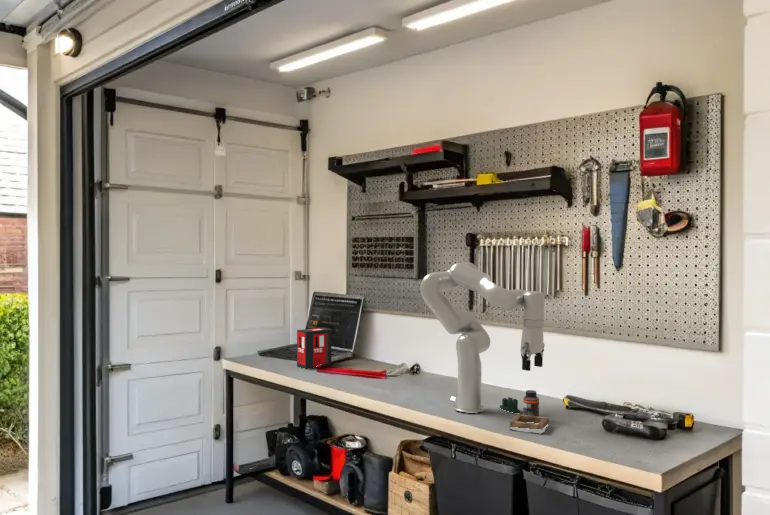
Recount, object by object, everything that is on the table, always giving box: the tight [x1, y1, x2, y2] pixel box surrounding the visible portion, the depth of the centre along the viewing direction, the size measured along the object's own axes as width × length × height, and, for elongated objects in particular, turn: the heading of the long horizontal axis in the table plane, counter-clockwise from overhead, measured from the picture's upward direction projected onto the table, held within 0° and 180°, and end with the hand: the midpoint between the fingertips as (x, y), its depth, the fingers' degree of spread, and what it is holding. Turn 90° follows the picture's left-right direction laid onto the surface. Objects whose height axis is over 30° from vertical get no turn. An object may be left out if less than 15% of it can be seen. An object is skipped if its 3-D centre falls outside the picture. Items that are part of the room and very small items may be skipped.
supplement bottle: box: [522, 389, 540, 417], centre depth 239 cm, size 6×6×11 cm
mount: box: [499, 396, 521, 414], centre depth 253 cm, size 11×4×5 cm, turn 30°
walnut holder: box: [509, 413, 550, 430], centre depth 229 cm, size 12×12×3 cm
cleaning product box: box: [296, 327, 333, 370], centre depth 340 cm, size 16×9×20 cm, turn 130°
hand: (532, 368), depth 238 cm, fingers open, 9 cm apart
